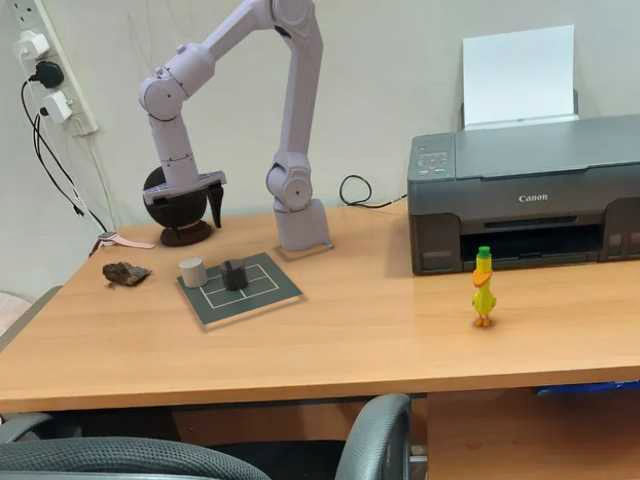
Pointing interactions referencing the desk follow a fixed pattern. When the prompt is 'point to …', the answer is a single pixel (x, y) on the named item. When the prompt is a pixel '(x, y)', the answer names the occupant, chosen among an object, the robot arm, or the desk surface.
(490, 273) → the toy figure
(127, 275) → the rock sample
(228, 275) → the dark grey cylinder
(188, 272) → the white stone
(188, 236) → the black ball on stand
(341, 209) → the desk surface
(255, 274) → the game board
